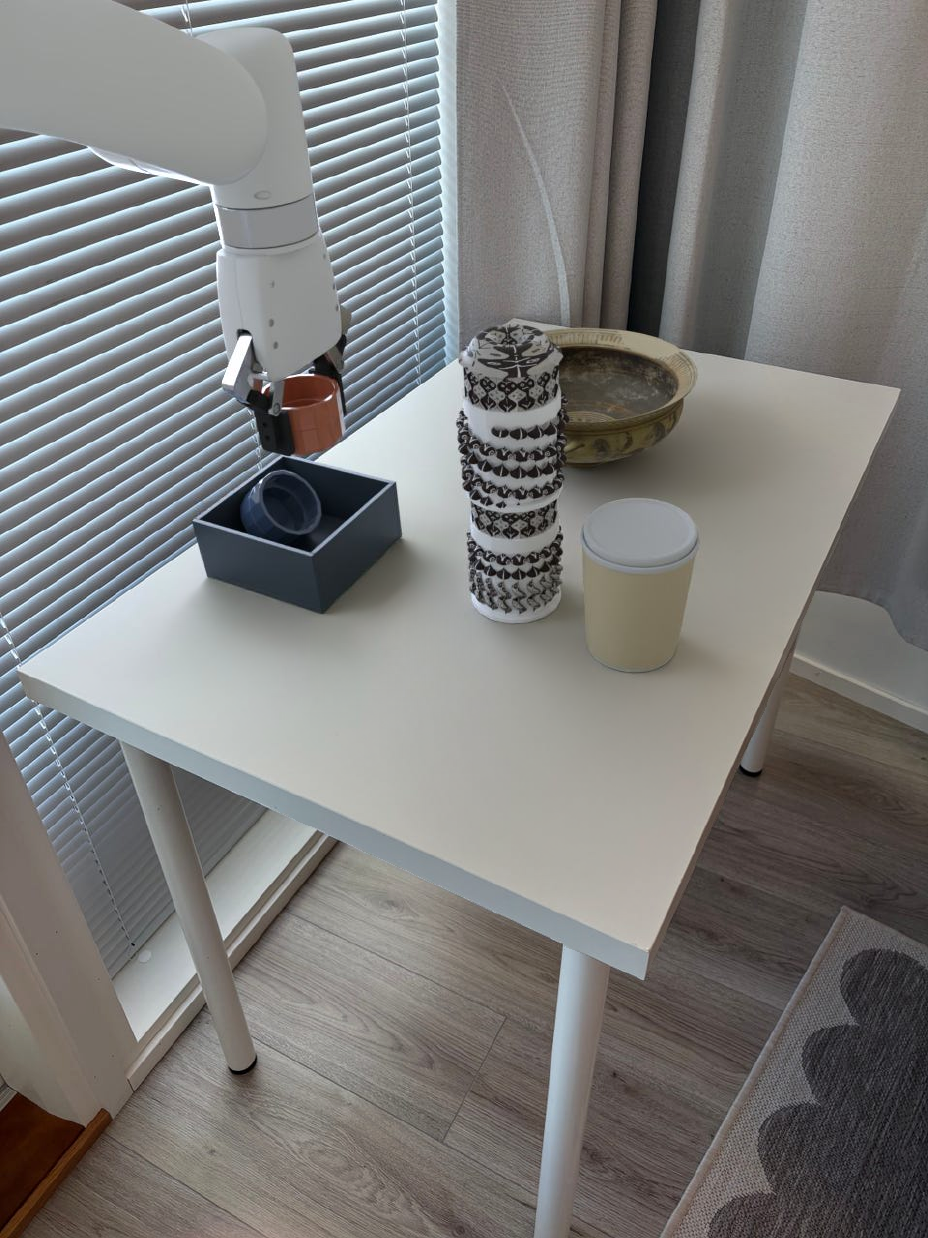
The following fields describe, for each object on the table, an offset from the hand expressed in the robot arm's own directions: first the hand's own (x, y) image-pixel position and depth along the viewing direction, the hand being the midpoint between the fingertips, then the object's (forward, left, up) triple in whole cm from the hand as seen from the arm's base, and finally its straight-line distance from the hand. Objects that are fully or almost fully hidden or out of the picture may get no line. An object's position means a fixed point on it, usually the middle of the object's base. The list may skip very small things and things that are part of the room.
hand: (305, 430), depth 83 cm
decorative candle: (+16, -10, -16) cm, 24 cm away
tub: (-2, +4, -15) cm, 16 cm away
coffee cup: (+23, -20, -16) cm, 34 cm away
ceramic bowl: (+32, +13, -16) cm, 38 cm away
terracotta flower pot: (0, 0, -1) cm, 1 cm away
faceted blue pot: (-5, +7, -13) cm, 15 cm away
